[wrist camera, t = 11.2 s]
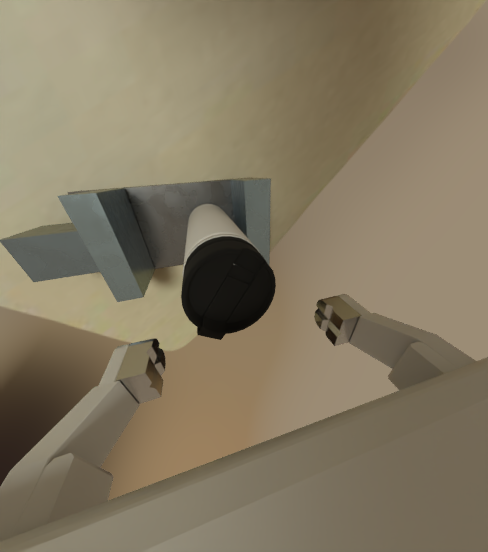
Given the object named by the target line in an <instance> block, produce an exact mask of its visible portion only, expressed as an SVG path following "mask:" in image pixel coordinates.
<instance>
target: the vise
mask: <svg viewBox="0 0 488 552" xmlns="http://www.w3.org/2000/svg"><path fill="white" fill-rule="evenodd" d="M270 184H271V179H264V178H241V179H228V180H215V181H202V182H190V183H177V184H164V185H152V186H139V187H126V188H125V191H126V194H127V196H128V199H129V202H130V204H131V207H132V210H133V212H134V215H135V218H136V220H137V223H138V226H139V228H140V231H141V234H142V236H143V239H144V242H145V244H146V247H147V250H148V252H149V255H150V258H151V260H152V263H153V266H154V268H155V269H157V268H163V267H169V266H175V265H182V264H184V257H185V247H186V238H187V229H188V220H189V216H190V214H191V212H192V211H193V209H194V208H196V207H197V206H199V205H201V204H206V203H209V204H214V205H217V206H219V207H220V208H221V209H222V210H223V211H224V212H225V213H226V214H227V215H228V216H229V218H230V219H231V220H232V221H233V222H234V223H235V224H236V226H237V227H238V228H239V229H240V230H241V231H242V232H243V233H244V235H245V236H246V237H247V238H248V239H249V240H250V241H251V242H252V244H253V245H254V246H255V247H256V248H257V249H258V251H259V252H260V254H261V255H262V256H263V257H264V259H265V260H266V262H267V263H268V265H269V250H270ZM113 189H119V188H113ZM101 190H107V189H101ZM89 191H96V190H88V191H76V192H68V194H75V193H82V192H89Z"/></svg>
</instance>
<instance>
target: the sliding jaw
mask: <svg viewBox="0 0 488 552" xmlns="http://www.w3.org/2000/svg"><path fill="white" fill-rule="evenodd" d="M58 198H59V200H60V201H61V203H62V205H63V207H64V208H65V210H66V212H67V214H68V215H69V217H70V219H71V221H72V223H66V224H57V225H48V226H41V227H38V228H35V229H32V230H28V231H25V232H22V233H19V234H16V235H13V236H10V237H7V238H4V239H1V240H0V242H1V243H2V244H3V246H4V247H5V248H6V249H7V250H8V252H9V253H10V254H11V255H12V256H13V258H14V259H15V260H16V261H17V263H18V264H19V265H20V266H21V267H22V269H23V270H24V271H25V272H26V273H27V275H28V276H29V277H30V278H31V279H32V281H33V282H38V281H44V280H50V279H57V278H63V277H70V276H76V275H82V274H89V273H95V272H101V274H102V276H103V277H104V279H105V281H106V283H107V284H108V286H109V288H110V290H111V291H112V293H113V295H114V297H115V298H116V300H117V302H120V301H126V300H131V299H136V298H142V297H144V295H145V292H146V290H147V287H148V285H149V282H150V280H151V278H152V275H153V273H154V270H155V268H154V266H153V263H152V260H151V258H150V255H149V252H148V250H147V247H146V244H145V242H144V239H143V236H142V234H141V231H140V228H139V226H138V223H137V220H136V218H135V215H134V212H133V210H132V207H131V204H130V202H129V199H128V196H127V194H126V191H125V188H119V189H107V190H96V191H89V192H82V193H75V194H68V195H61V196H58Z"/></svg>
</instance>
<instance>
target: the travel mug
mask: <svg viewBox="0 0 488 552" xmlns="http://www.w3.org/2000/svg"><path fill="white" fill-rule="evenodd" d="M275 286H276V285H275V277H274V274H273V270H272V269H271V268H270V266H269V265H268V263H267V262H266V260H265V259H264V257H263V256H262V255H261V254H260V252H259V251H258V249H257V248H256V247H255V246H254V245H253V244H252V242H251V241H250V240H249V239H248V238H247V237H246V236H245V235H244V233H243V232H242V231H241V230H240V229H239V228H238V227H237V226H236V224H235V223H234V222H233V221H232V220H231V219H230V218H229V216H228V215H227V214H226V213H225V212H224V211H223V210H222V209H221V208H220V207H219V206H217V205H214V204H209V203H206V204H201V205H199V206H197V207H196V208H194V209H193V211H192V212H191V214H190V216H189V220H188V229H187V238H186V247H185V257H184V266H183V284H182V295H181V298H182V306H183V309H184V311H185V314H186V315H187V317H188V318H189V320H190V321H191V322H192V323H193V324H194V325H196V326H197V327H198V328H197V333H198V335H201V336H205V337H210V338H215V339H220V340H221V339H222V338H223V336H224V335H225V334H226V333H234V332H237V331H240V330H243V329H245V328H247V327H249V326H251V325H252V324H254V323H255V322H256V321H258V320H259V319H260V318H261V316H263V315H264V313H265V312H266V311H267V309H268V308H269V306H270V304H271V302H272V300H273V297H274V293H275Z"/></svg>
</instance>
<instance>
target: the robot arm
mask: <svg viewBox="0 0 488 552" xmlns="http://www.w3.org/2000/svg"><path fill="white" fill-rule="evenodd" d="M317 307H318V309H317V310H316V312H315V316H314V317H315V321H316V323H317V325H318V326H319V328H320V329H322V330H324V331H326V336H327V338H328V339H329V340H330V341H331V342H332V344H333V345H334V346H336V345H340V344H344V343H348V342H349V343H350V344H352V345H353V346H355V347H357V348H358V349H360V350H362V351H363V352H365V353H367V354H369V355H370V356H372V357H374V358H375V359H377V360H379V361H381V362H382V363H384V364H385V365H387V366H389V367H390V368H392V371H391V372H390V374H389V375H388V377H389V378H388V379H389V380H390V381H391V382H392V383H393V384H394V385H395V386H396V387H397V388H398V389H399V391H397V392H394V393H392V394H389V395H387V396H384V397H382V398H378V399H376V400H373V401H370V402H368V403H365V404H363V405H360V406H357V407H355V408H352V409H349V410H347V411H344V412H342V413H339V414H336V415H334V416H331V417H328V418H325V419H323V420H320V421H318V422H315V423H313V424H310V425H307V426H305V427H302V428H299V429H297V430H294V431H291V432H289V433H286V434H283V435H281V436H278V437H275V438H273V439H270V440H267V441H265V442H262V443H259V444H257V445H254V446H251V447H249V448H246V449H244V450H241V451H238V452H236V453H233V454H231V455H228V456H225V457H222V458H220V459H217V460H214V461H212V462H209V463H207V464H204V465H201V466H199V467H196V468H193V469H191V470H188V471H186V472H183V473H180V474H178V475H175V476H172V477H170V478H167V479H164V480H162V481H159V482H156V483H154V484H151V485H148V486H146V487H143V488H140V489H138V490H135V491H133V492H130V493H127V494H125V495H122V496H120V497H117V498H114V499H111V500H109V501H108V497H109V493H110V489H111V485H112V481H113V475H112V474H111V473H110V472H108V471H106V470H104V469H102V468H100V467H101V465H102V464H103V462H104V460H105V459H106V457H107V456H108V454H109V452H110V451H111V449H112V448H113V446H114V445H115V443H116V441H117V440H118V438H119V437H120V435H121V434H122V432H123V430H124V429H125V427H126V426H127V424H128V422H129V421H130V419H131V418H132V416H133V415H134V413H135V411H136V410H137V408H138V407H139V404H140V403H143V402H146V401H150V400H153V399H156V398H159V397H161V393H162V387H163V379H162V377H161V375H162V374H163V372H164V371H165V364H166V363H165V355H164V352H163V350H162V349H160V348H159V342H158V340H157V339H150V340H145V341H140V342H136V343H131V344H127V345H122V346H118V347H117V348H116V349H115V350H114V352H113V355H112V357H111V359H110V361H109V364H108V366H107V368H106V370H105V373H104V375H103V377H102V379H101V382H100V384H99V386H97V387H94V388H93V389H92V390H91V391H90V392H89V393H88V394H87V395H86V396H85V397H84V398H83V399H82V400H81V401H80V402H79V403H78V404H77V405H76V406H75V407H74V408H73V409H72V410H71V411H70V412H69V413H68V414H67V415H66V416H65V417H64V418H63V419H62V420H61V421H60V422H59V423H58V424H57V425H56V426H55V427H54V428H53V429H52V430H51V431H50V432H49V433H48V434H47V435H46V436H45V437H44V438H43V439H42V440H41V441H40V442H39V443H38V444H37V445H36V446H35V447H34V448H33V449H32V450H31V451H30V452H29V453H27V454H26V455H25V457H23V458H22V459H21V461H19V463H17V465H15V467H14V468H12V469H11V471H10V472H9V474H8V475H7V477H6V479H5V480H4V482H3V484H2V485H1V487H0V552H488V357H487V358H484V359H481V360H479V361H475V360H474V359H472V358H471V357H469V356H468V355H466V354H465V353H463V352H462V351H460V350H459V349H457V348H456V347H454V346H453V345H451V344H450V343H448V342H446V341H445V340H444V339H442V338H441V337H439V336H438V335H436V334H433V333H430V332H427V331H424V330H422V329H419V328H416V327H413V326H410V325H407V324H404V323H402V322H399V321H396V320H393V319H390V318H387V317H384V316H382V315H379V314H376V313H370V312H369V311H367V310H366V309H365V308H364V307H363V306H361V305H360V304H359V303H357V302H356V301H355V300H354V299H352V298H351V297H350V296H348V295H346V294H342V295H338V296H333V297H329V298H326V299H321V300H319V301H318V302H317Z"/></svg>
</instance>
